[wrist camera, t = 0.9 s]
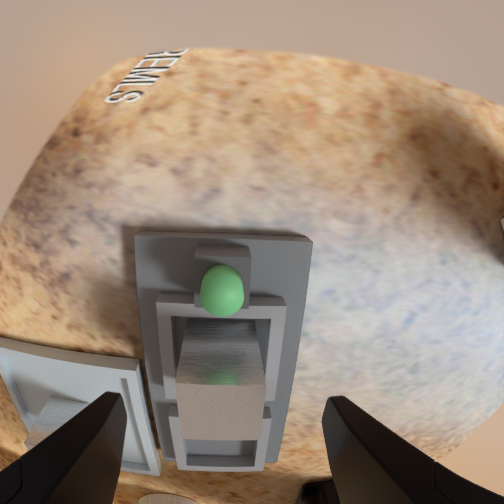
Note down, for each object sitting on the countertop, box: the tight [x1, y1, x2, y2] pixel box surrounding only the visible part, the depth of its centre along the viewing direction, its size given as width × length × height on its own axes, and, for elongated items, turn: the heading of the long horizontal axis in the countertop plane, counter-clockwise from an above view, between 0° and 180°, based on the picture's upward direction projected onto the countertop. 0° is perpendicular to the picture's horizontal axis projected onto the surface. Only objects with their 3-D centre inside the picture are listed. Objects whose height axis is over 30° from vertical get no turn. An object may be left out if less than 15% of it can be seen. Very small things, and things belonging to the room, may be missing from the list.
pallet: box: [134, 231, 313, 472], centre depth 20 cm, size 20×10×3 cm, turn 177°
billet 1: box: [24, 395, 90, 450], centre depth 18 cm, size 4×4×6 cm
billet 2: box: [175, 319, 266, 440], centre depth 16 cm, size 4×4×6 cm
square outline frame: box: [0, 337, 162, 476], centre depth 21 cm, size 14×14×1 cm
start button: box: [200, 265, 244, 317], centre depth 15 cm, size 2×2×2 cm
